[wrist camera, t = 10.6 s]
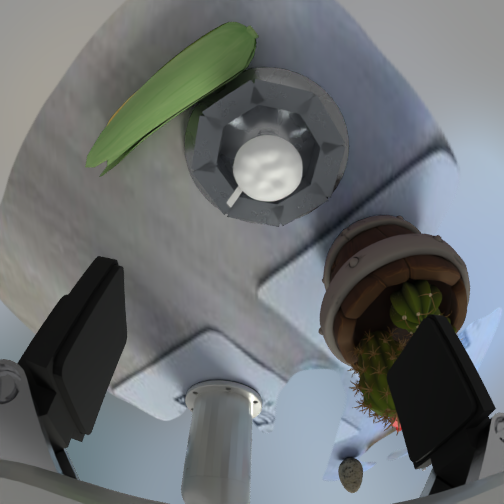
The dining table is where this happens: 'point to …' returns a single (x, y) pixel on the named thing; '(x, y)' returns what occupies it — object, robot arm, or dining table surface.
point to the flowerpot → (386, 298)
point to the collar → (282, 122)
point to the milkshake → (266, 167)
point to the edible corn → (175, 90)
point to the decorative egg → (351, 474)
